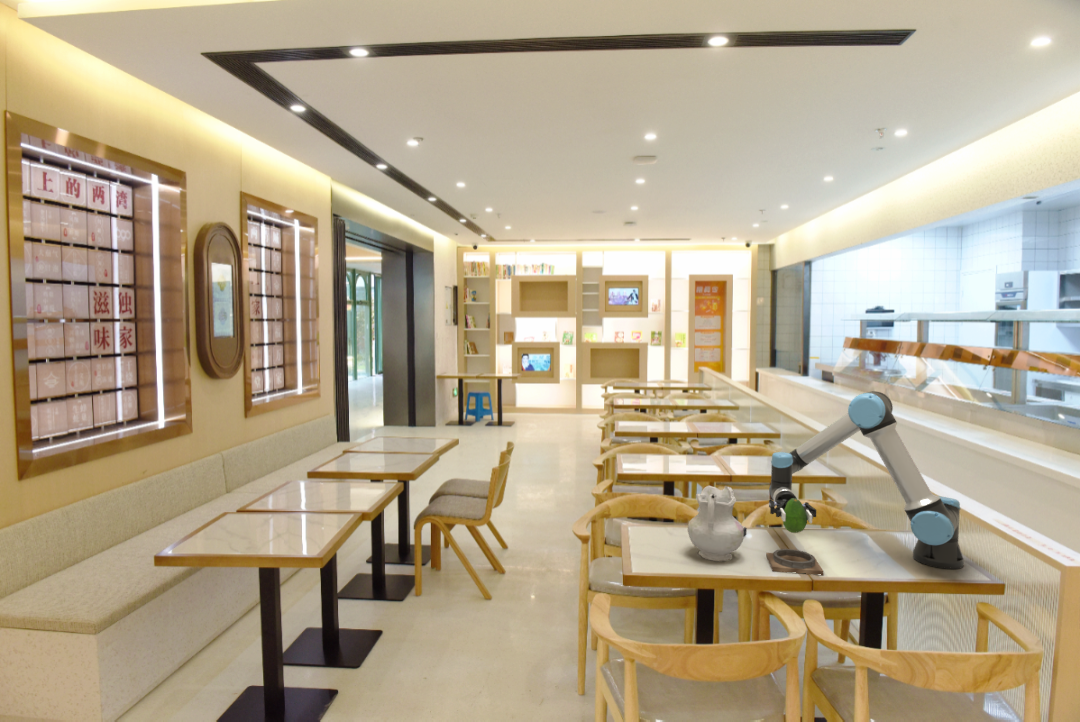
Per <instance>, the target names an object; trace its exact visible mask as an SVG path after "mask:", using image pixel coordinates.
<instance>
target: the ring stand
mask: <svg viewBox="0 0 1080 722" xmlns="http://www.w3.org/2000/svg"><path fill="white" fill-rule="evenodd" d="M765 554H766V561H768V564H769V566H770V569H771V570H772V571H771V572H774V573H775V572H777V573H787V572H796V573H795V574H799V573H806V574H805V575H811V574H821V575H820V576H824V573H825V572H824V570H823V568H822V567H821V565H820V564H819V562H818V560H817V559H816V557H815V555H813V554H811V553H809V552H807V551H803V550H799V549H792V548H781V549H777V550H775V551H773V552H766V553H765Z"/></svg>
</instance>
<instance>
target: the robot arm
mask: <svg viewBox="0 0 1080 722" xmlns="http://www.w3.org/2000/svg"><path fill="white" fill-rule="evenodd" d="M893 407H894V406H893V402H892V401H891V399H890V398H889V396H888V395H886V394H885V393H883V392H881V391H875V390H873V391H867V392H864V393H861V394H858V395H857V396H855V397H854V398H852V400H851V401H850V402H849V405H848V407H847V413H846V414H844V415H842V417H840V418H838V419H837V420H835V421H834V422H833V423H831V424H830V425H828V426H827V427H825V428H824V429H823V430H820V431H819V432H817V434H815V435H814V436H812V437H810V438H809V439H808V440H806V441H805V442H803V443H802V444H800V445H799V446H797V448H795V449H793V450H792V451H790V452H783V451H778V452H773V453H772V456H771V460H770V462H771V463H770V464H771V474H770V475H771V477H770V478H771V479H770V485H769V492H768V493H769V495H770V498H771V499H769V500H768V508H769V509H770V512H769V513H770V514H771V515H774V514H775V517H776V518H780V519H781V520H782V522H783V521H785V518H786V513H785V512H784V509H785V507H786V505H787V502H788V501H789V500H790V499H792V498H796V499H797V500H798V498H797V497H796V495H795V494H794V492H793V490H792V488H793V486H792V485H793V474H795V473H797V472H800V471H801V470H803V469H804V468H805V467H807V466H808V465H809V464H811V463H812V462H814V461H815V460H817V459H819V458H820V457H821V456H823V455H824V454H826V453H828V452H829V451H831V450H832V449H834V448H835V447H837V446H838V445H840V444H841V443H843V442H844V441H846V440H848V439H850V438H851V437H853V436H854V435H855V434H857V433H858V432H859V431H860V432H861V435H862V436H863V437H865V438H868V439H870V441H871V442H872V444H873V446H874V448H875V450H876V452H877V453H878V455H879V457H880V458H881V461H882V462H883V464H884V466H885V468H886V470H887V472H888V473H889V475H890V477H891V478H892V480H893V482H894V483H895V486H896V488H897V489H898V492H899V493H900V495H901V496H902V498H903V501H904V502H905V504H904V508H903V509H904V511H905V513H906V516H907V517H908V519H909V521H910V528H911V533H912V534H913V536H914V537H915V538H916V539H917V540H916V543H915V545H914V548H913V550H912V558H913V559H914V560H915V561H917V562H918V563H921V564H924V565H927V566H930V567H934V568H940V569H945V570H946V569H947V570H948V569H949V570H956V569H957V570H958V569H961V568H963V567H964V561H965V560H964V557H963V553H962V550H961V547H960V543H959V538H960V537H959V533H960V531H959V530H960V511H961V506H960V505H961V503H960V501H959V500H958V499H955V498H951V497H948V496H947V497H946V496H940V495H935V494H934V493H932V491H931V490H930V487H929V485H928V484H927V482H926V481H925V479H924V477H923V475H922V474H921V471H920V470H919V468H918V466H917V465H916V463H915V461H914V459H913V457H912V456H911V454H910V452H909V450H908V449H907V447H906V446H905V443H904V442H903V440H902V438H901V436H900V435H899V433H898V431H897V429H896V428H897V427H896V426H897V425H898V421H897V420H896V418H895V417H894V414H893V410H894V408H893ZM802 505H803V507H804V509H805V512H806V515H807V522H808V523H809V524H813V519H814V518H817V509H816V508H815V507H814V506H812V505H811V504H810V502H808V501H807V502H803V503H802Z"/></svg>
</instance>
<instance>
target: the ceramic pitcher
mask: <svg viewBox="0 0 1080 722" xmlns="http://www.w3.org/2000/svg"><path fill="white" fill-rule="evenodd" d="M695 498H696V500H697V503H698V506H699V507H698V508H699V511H698V513H697V515H695V516H693V517H692V518H691V519H690V520H689V521H688V524H687V533H688V538H689V540H690V542H691V543H692V545H693V546H694V547H695V548H697V549H698V550H699V552H698V553H697V555H699V556H701V557H702V558H703V559H705V560H706V561H713V562H725V561H731V559H733V555H732V553H734V552H735V551H737V550H738V549H739V548H740V546H741V545H742V543H743V541H744V537H745V536H744V529H743V526H744V525H742V523H741V522H740V521H739V520H737V518H735V517H734V516H733V510H734V506H735V504H736V502H737V498H736V497H735V493H734V489H733V488H732V487H731V486H727V485H725V486H724V488H723V489H719V488H718V487H716V486H712V485H706V486H705V487H704V488H703V489H702V490H701V491H700V493H696V495H695Z"/></svg>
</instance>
